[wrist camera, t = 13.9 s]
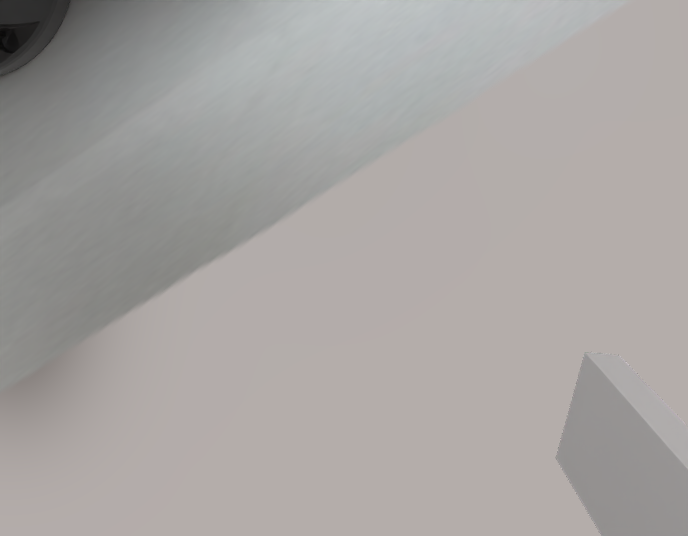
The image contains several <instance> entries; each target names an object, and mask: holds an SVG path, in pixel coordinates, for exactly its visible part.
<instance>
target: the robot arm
mask: <svg viewBox="0 0 688 536" xmlns="http://www.w3.org/2000/svg"><path fill="white" fill-rule="evenodd" d="M69 1H70V0H0V75H3V74H6V73H8V72H11V71H13V70H15V69H17V68H19V67H21V66H22V65H24V64H26V63H27V62H29V61H30V60H31V59H33V58H34V57H35V56H36V55H37V54H39V53H40V52H41V51H42V50H43V49H44V48H45V46H46V45H47V44H48V43H49V42H50V40H51V39H52V38H53V36H54V35H55V33H56V32H57V30H58V28H59V26H60V25H61V23H62V21H63V18H64V16H65V14H66V11H67V8H68V5H69ZM556 460H557V461H558V463H559V465H560V466H561V468H562V470H563V471H564V473H565V475H566V477H567V478H568V480H569V482H570V483H571V485H572V487H573V488H574V490H575V492H576V494H577V495H578V497H579V499H580V500H581V502H582V504H583V505H584V507H585V509H586V510H587V512H588V514H589V516H590V517H591V519H592V521H593V522H594V524H595V526H596V527H597V529H598V531H599V533H600V534H601V536H688V426H687V425H686V424H685V423H684V422H683V420H682V419H681V418H680V417H679V416H678V415H677V414H676V413H675V412H674V411H673V410H672V409H671V408H670V407H669V406H668V405H667V404H666V403H665V402H664V401H663V400H662V399H661V398H660V397H659V396H658V395H657V394H656V393H655V392H654V391H653V390H652V389H651V388H650V387H649V386H648V385H647V384H646V382H644V380H643V379H642V378H641V377H640V376H639V375H638V374H637V373H636V372H635V371H634V370H633V369H632V368H631V367H630V366H629V365H628V364H627V363H626V362H625V361H624V360H623V359H622V358H621V357H620V356H619V355H615V354H602V353H589V352H585V354H584V357H583V361H582V365H581V368H580V372H579V375H578V379H577V383H576V386H575V390H574V393H573V397H572V401H571V404H570V408H569V412H568V415H567V419H566V422H565V426H564V430H563V433H562V437H561V441H560V444H559V447H558V451H557V455H556Z"/></svg>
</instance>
